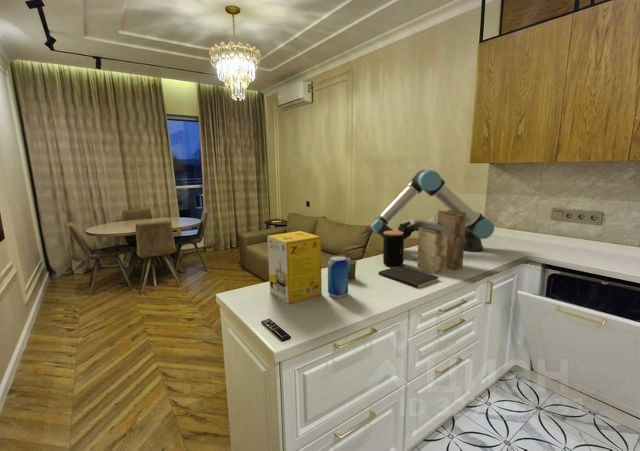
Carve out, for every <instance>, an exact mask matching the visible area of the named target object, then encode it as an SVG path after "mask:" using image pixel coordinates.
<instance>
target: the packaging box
mask: <svg viewBox="0 0 640 451" xmlns="http://www.w3.org/2000/svg"><path fill="white" fill-rule="evenodd" d="M267 255H268V257H267V259H268V260H267V261H268V277H269V279H268V280H269V281H268V282H269V292H270V291H271V292H272V293H271V292H270V293H271V294H273V293H274V294H275V295H274V294H273V295H274V296H275V297H277V296H278V297H277V298H279V299H280V298H281V299H282V300H281V299H280V300H281V301H283V302H284V301H285V302H284V303H286V304H287V303H288V305H290V304H292V302H294V303H296V302H295V301H297V302H299V300H301V301H303V299H304V300H308V299H310V298H313V297H317V296H320V295H322V293H323V292H322V291H323V290H322V287H323V286H322V237H321V236H320V235H316V234H312V233H309V232H306V231H302V230H295V231H291V232H284V233H278V234H270V235H267ZM289 303H290V304H289Z"/></svg>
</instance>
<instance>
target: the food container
mask: <svg viewBox="0 0 640 451" xmlns="http://www.w3.org/2000/svg"><path fill="white" fill-rule="evenodd" d="M339 256H344V257H345V258H346V261H347V262H348V279H349V280H350V281H352V280H353V281H354V280H356V268H357V267H356V266H357V259H352V258H351V257H349V256H346V253H343V254H340V255H339ZM349 280H348V281H349Z"/></svg>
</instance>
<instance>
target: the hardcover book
mask: <svg viewBox="0 0 640 451" xmlns="http://www.w3.org/2000/svg"><path fill="white" fill-rule="evenodd" d="M378 276H381V277H384V278H386V279H388V280H392V281H395V282H397V283H400V284H403V285H406V286H408V287H412V288H415V289H419V288H422V287H424V286H426V285H430V284H432V283H435V282H437V281H438V279H439V278H440V277H439V276H436V275H435V274H431V273H428V272H427V273H426V272H424V271H419V270H416V269H413V268H410V267H406V266H403V265H402V266H400V265H399V266H396V267H390V268H389V267H388V268H387V269H383V270H379V271H378Z"/></svg>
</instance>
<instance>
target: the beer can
mask: <svg viewBox="0 0 640 451" xmlns="http://www.w3.org/2000/svg"><path fill="white" fill-rule="evenodd" d="M327 293H328V294H329V295H330V297H332V298H337V299H340V298H344V297H346V296H347V294H348V293H349V280H348V262H347V261H346V258H345V257H344V256H340V255H332V256H329V260H328V261H327Z"/></svg>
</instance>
